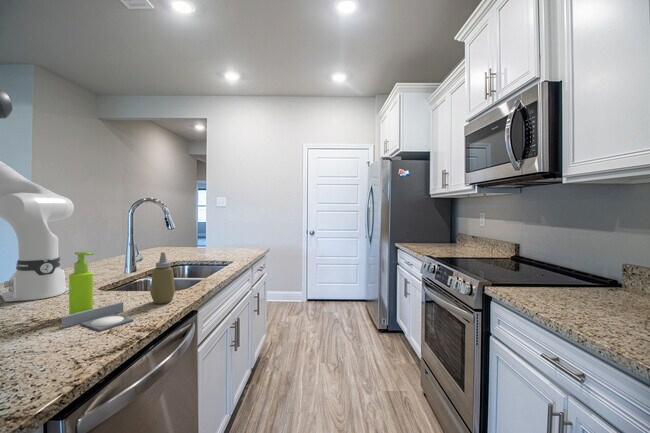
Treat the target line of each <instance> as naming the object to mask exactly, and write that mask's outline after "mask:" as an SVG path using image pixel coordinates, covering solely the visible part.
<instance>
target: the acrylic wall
mask: <svg viewBox="0 0 650 433" xmlns="http://www.w3.org/2000/svg"><path fill="white" fill-rule="evenodd" d="M123 312H124V302H123V301H120V302H115V303H111V304H107V305H103V306H98V307H95V308H94V307H93V309H90V310H86V311H82V312H78V313H74V314H70V315H69V314H67V315H63V316H61V328H63V329H65V328H69V327H71V326H75V325H76V326H77V325H79V324H80V325H81V323H83V322H86V321H90V320H94V319H97V318H101V317H105V316H108V315H112V314H119V313H123Z"/></svg>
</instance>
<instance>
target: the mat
mask: <svg viewBox="0 0 650 433" xmlns="http://www.w3.org/2000/svg"><path fill="white" fill-rule="evenodd" d="M131 322H134V319H133V318H129V317H126V316H123V315H119V314H118V313H116V314H112V315H108V316H105V317H101V318H97V319H94V320H90V321H86V322H83V323H80V325H81V326H84V327H87V328H89V329H92V330H95V331H97V332H103V331H105V330H108V329H112V328H115V327H119V326H122V325H124V324H125V325H126V324H128V323H131Z"/></svg>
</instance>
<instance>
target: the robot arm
mask: <svg viewBox="0 0 650 433" xmlns="http://www.w3.org/2000/svg"><path fill="white" fill-rule="evenodd" d="M12 111H13V103H12V100H11V98H10V97H9V95H8V93H7V92H6V91H5V90H4V89H3V88H1V87H0V119H7V118H8V117H9V116H10V115H11V113H12ZM74 210H75V206H74V203H73V202H72V200H71V199H70V198H68V197H66V196H63V195H60V194H58V193H55V192H53V191H51V190H49V189H48V188H45V187H44V186H41V185H40V184H37V183H36V182H33V181H31V180H30V179H28V178H26V177H25V176H23V175H22V174H21V173H20V172H18V171H16V170H15V169H14V168H12V167H11V166H9V165H7V164H6V163H5V162H3V161H1V160H0V218H1V219H3V220H4V221H6V222H7V223H8V224H9V225H10V226H11V227H12V229H13V231H14V233H15V235H16V238H17V244H18V259H17V261H16V266H15V267H16V268H15V272H14V273H13V275H11V277H10V278H9V279H8V280H6V281H4V283H3V284H4V285H3V287H4V288H5V289H6V288H8V290H3V291H1V292H0V296H1V299H3V301H4V302H16V301H17V302H19V301H34V300H40V299H47V298H52V297H57V296H60V295H62V294H64V293H66V292H69V286H66V285H67V284H66V277H65V276H66V275H65V270H63V269H62V268H60V266H61V258H60V256H59V254H60V253H59V250H60V249H59V237H58V236H57V235H56V234H54V233H53V232H52V231H51V230H50V228H49V225H48V223H53V222H60V221H63V220H68V219H69V218H70V217H71V216H72V215H73V213H74Z"/></svg>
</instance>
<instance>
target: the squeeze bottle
mask: <svg viewBox="0 0 650 433" xmlns="http://www.w3.org/2000/svg"><path fill="white" fill-rule="evenodd" d="M175 292H176V286H175V277H174V269H173V267H171V262H170V261H168V258H167V256H166V252H164V251H163V252H161V253H160V257H159V260H158V262H155V268H154V269H153V270H152V275H151V284H150V292H149V293H150V296H151V299H152V301H153V303H154V304H158V305H159V304H168V303H170V302H171V301H173V298H174V296H175Z"/></svg>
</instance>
